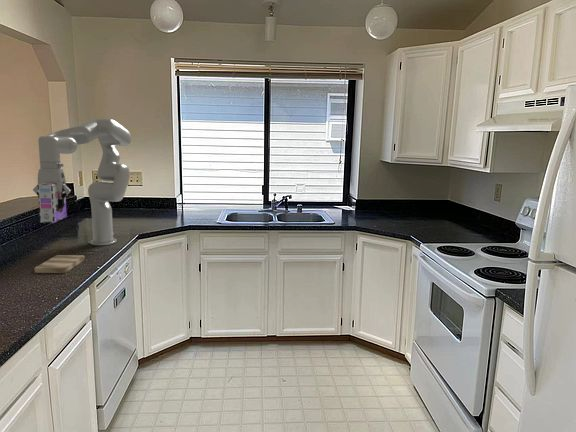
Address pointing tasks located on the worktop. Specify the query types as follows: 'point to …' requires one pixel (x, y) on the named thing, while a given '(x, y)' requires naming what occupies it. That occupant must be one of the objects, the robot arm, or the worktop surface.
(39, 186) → the candy box
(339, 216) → the worktop surface
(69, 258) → the cutting board
